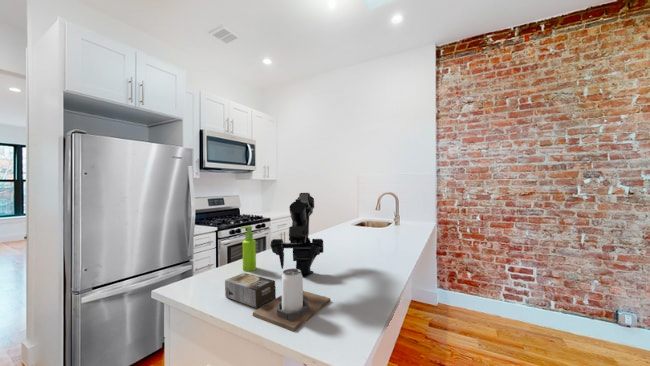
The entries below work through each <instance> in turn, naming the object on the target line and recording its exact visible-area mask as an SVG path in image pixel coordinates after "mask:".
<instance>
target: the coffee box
mask: <svg viewBox="0 0 650 366" xmlns="http://www.w3.org/2000/svg"><path fill="white" fill-rule="evenodd" d="M224 291H225V293H224V294H225V295H224V297H225V298H228V299H231V300H234V301H236V302H239V303H241V304H244V305H247V306H250V307H253V308H255V309H259V308H261V307H263V306H264V305H266V304H268V303H269V302H271V301H273V300H274V299H276V298H277V297H276V295H277V294H276V291H277V290H276V280H274V279H270V278H266V277H262V276H258V275H255V274H251V273H247V272H243V273H239V274H237V275H235V276H232V277H229V278H226V279H225V280H224Z"/></svg>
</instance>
